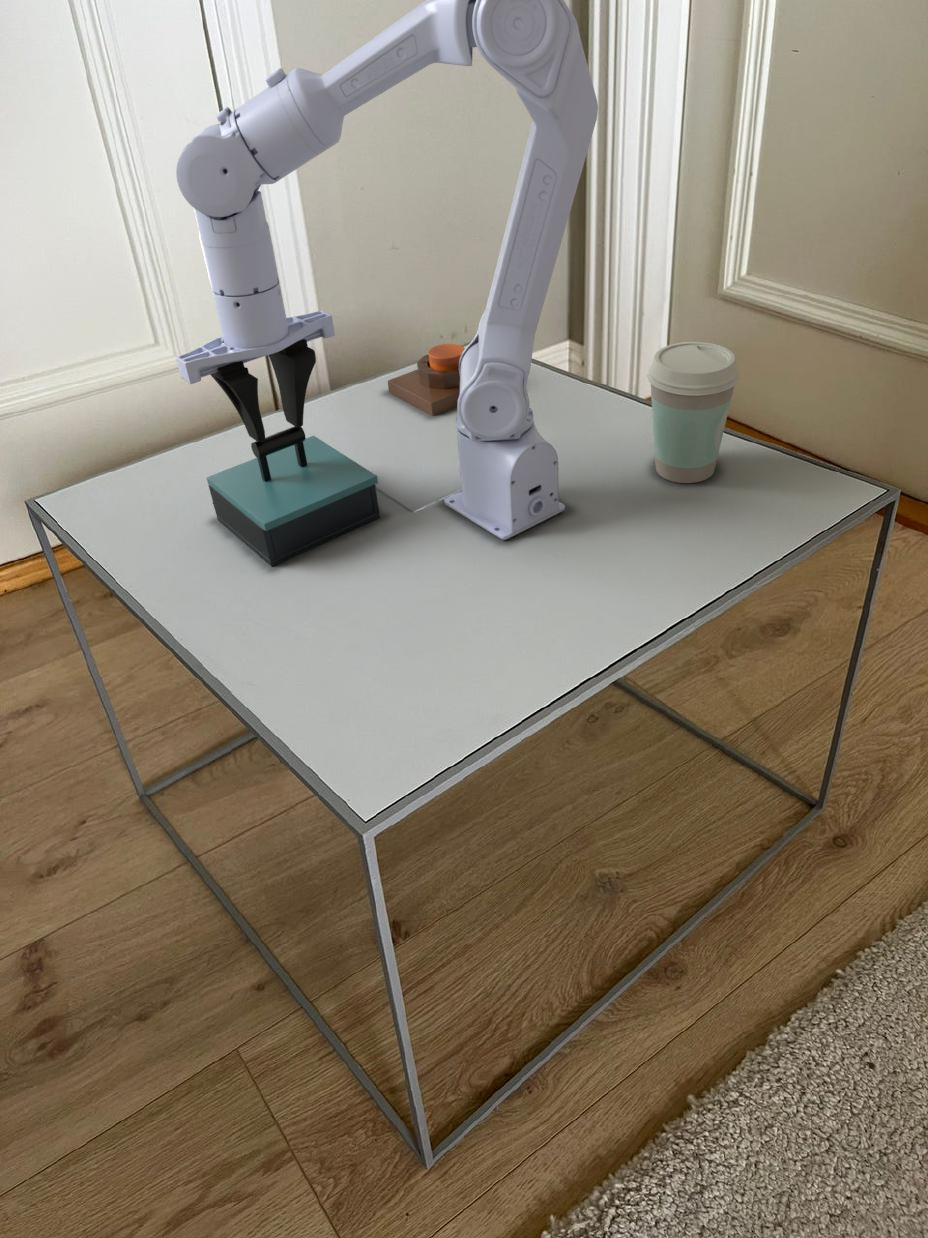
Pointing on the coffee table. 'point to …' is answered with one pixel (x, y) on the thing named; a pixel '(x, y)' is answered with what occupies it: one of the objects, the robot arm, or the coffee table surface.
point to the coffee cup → (690, 407)
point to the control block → (427, 388)
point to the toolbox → (290, 478)
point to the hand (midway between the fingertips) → (276, 430)
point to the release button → (445, 357)
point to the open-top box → (299, 525)
